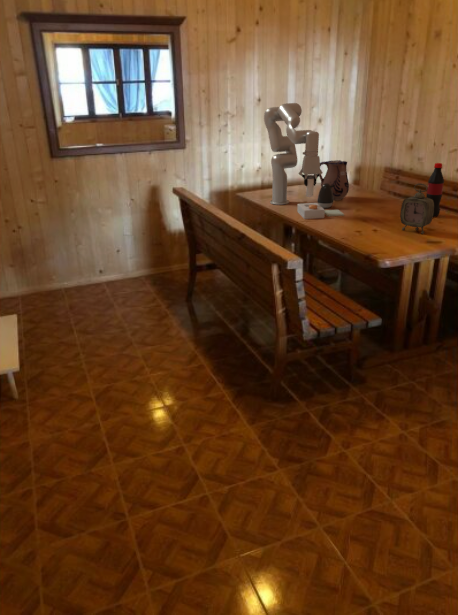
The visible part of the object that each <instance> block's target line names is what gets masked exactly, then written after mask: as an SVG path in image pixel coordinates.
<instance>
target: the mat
mask: <svg viewBox="0 0 458 615" xmlns="http://www.w3.org/2000/svg"><path fill="white" fill-rule="evenodd" d="M324 215H325V216H327V217H339V216H340V217H341V216H343V217H345V214H344V212H342V211H341V210H339V209H328V210H327V209H325V214H324Z"/></svg>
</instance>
